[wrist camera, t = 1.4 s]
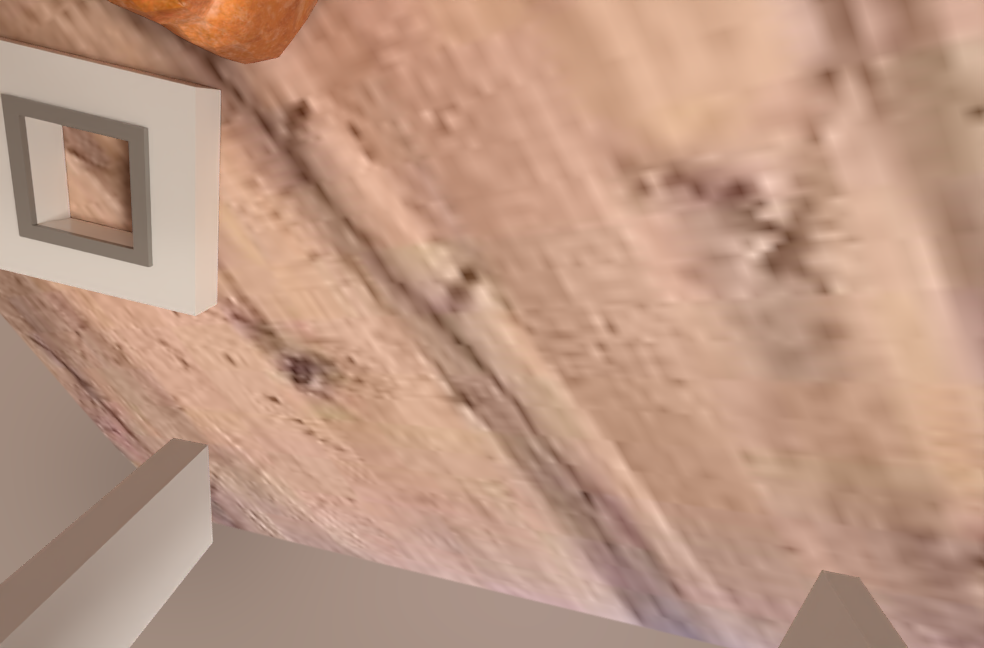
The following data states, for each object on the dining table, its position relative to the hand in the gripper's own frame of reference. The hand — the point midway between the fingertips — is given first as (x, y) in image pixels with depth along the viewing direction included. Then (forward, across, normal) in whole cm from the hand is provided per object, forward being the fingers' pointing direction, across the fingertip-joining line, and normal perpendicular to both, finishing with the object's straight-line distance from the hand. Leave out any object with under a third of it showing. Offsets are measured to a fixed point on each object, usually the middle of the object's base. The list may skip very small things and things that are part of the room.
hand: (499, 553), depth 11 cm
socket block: (+26, -29, 0) cm, 39 cm away
